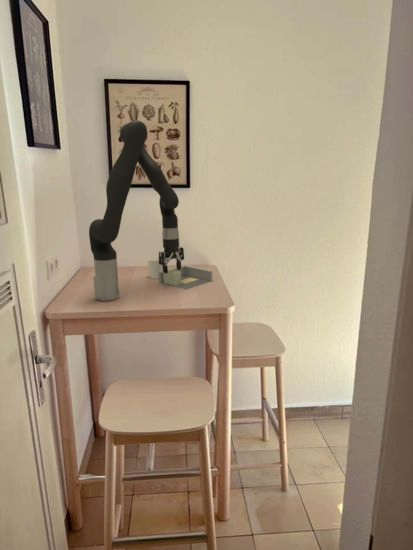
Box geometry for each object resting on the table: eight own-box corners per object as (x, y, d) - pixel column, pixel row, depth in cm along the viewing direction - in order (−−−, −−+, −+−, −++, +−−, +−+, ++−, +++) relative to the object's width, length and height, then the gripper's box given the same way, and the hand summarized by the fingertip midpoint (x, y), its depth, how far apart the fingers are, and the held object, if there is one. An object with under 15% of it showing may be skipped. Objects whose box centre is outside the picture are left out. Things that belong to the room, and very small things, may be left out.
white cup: (145, 279, 189) (144, 260, 187) (152, 275, 196) (151, 257, 194) (159, 281, 187) (159, 261, 184) (166, 277, 194) (165, 258, 191)
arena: (186, 291, 170) (185, 278, 168) (159, 284, 181) (158, 272, 180) (212, 282, 183) (212, 271, 181) (185, 276, 194) (185, 265, 193)
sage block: (175, 285, 176) (174, 273, 174) (163, 282, 181) (163, 270, 179) (181, 283, 178) (181, 271, 177) (169, 281, 184) (169, 269, 182)
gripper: (165, 240, 167) (166, 275, 171) (187, 235, 177) (188, 269, 181) (153, 238, 171) (155, 273, 176) (176, 234, 182) (177, 267, 186)
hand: (172, 271), depth 179 cm, fingers open, 8 cm apart
